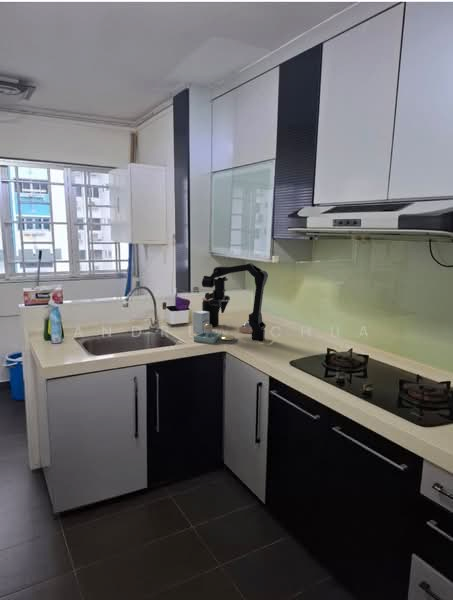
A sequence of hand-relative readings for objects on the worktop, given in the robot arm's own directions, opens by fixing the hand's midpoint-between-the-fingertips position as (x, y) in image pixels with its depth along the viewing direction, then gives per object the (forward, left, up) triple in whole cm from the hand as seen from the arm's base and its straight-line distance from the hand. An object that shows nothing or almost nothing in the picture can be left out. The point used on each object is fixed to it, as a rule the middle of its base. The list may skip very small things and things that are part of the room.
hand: (219, 314), depth 234 cm
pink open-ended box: (-12, -14, -13) cm, 22 cm away
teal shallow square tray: (+2, +11, -13) cm, 17 cm away
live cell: (+2, +11, -12) cm, 17 cm away
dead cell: (-12, -14, -12) cm, 22 cm away
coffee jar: (+16, -22, -13) cm, 30 cm away
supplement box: (+14, -4, -13) cm, 19 cm away
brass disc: (-9, +9, -11) cm, 17 cm away
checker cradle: (-9, +9, -13) cm, 18 cm away
